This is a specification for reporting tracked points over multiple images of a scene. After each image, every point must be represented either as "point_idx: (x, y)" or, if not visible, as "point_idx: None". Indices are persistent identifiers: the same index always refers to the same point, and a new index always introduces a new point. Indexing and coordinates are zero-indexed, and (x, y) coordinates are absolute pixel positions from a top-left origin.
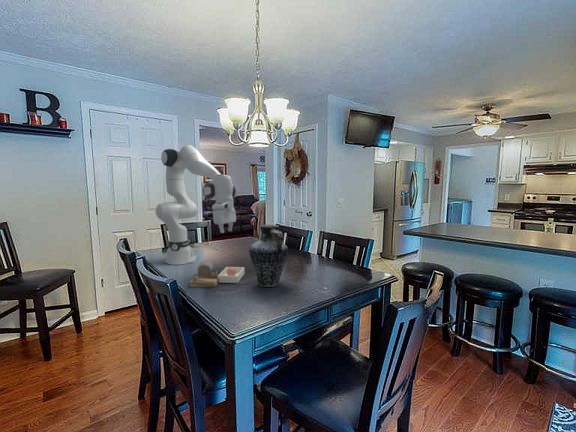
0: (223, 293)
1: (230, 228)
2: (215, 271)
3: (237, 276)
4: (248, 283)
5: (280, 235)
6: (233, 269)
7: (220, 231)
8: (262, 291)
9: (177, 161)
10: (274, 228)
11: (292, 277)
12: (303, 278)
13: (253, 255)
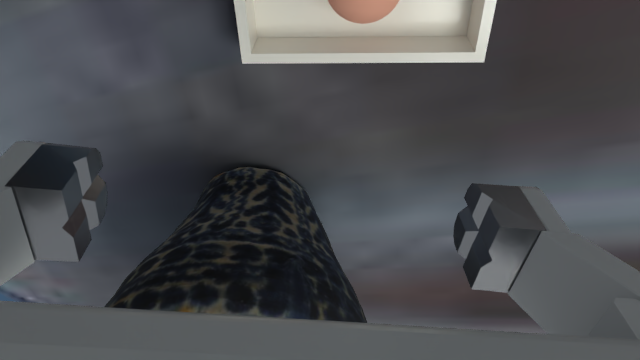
0: (46, 4)
1: (472, 270)
2: None
3: (244, 62)
4: (256, 110)
5: None
6: (346, 13)
7: (7, 162)
8: (156, 191)
9: None
10: None
11: (378, 283)
12: (365, 315)
13: (109, 303)
